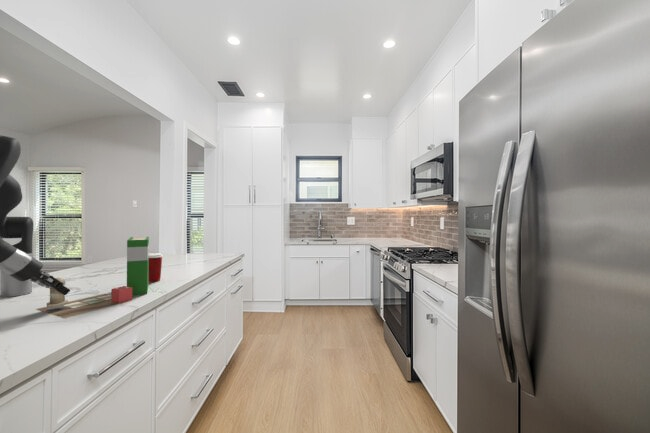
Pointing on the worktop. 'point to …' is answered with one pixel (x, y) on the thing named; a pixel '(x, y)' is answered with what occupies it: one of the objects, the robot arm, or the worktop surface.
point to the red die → (121, 294)
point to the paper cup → (155, 267)
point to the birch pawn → (57, 296)
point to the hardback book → (138, 265)
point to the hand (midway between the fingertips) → (64, 291)
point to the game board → (81, 306)
